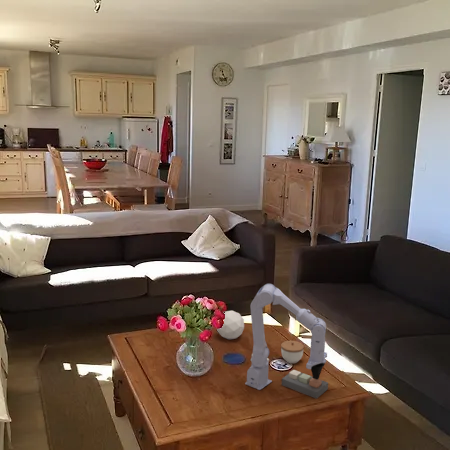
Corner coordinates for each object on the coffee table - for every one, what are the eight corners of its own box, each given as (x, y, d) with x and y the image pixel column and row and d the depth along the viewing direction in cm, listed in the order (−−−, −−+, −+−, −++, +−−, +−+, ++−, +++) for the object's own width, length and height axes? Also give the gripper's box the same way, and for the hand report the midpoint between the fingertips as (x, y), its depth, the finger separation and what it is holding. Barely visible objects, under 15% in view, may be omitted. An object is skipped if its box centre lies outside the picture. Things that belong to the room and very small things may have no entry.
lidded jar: (295, 368, 235) (296, 349, 233) (276, 361, 242) (276, 342, 240) (307, 359, 244) (308, 341, 242) (287, 353, 250) (288, 335, 248)
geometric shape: (231, 349, 264) (226, 335, 253) (213, 331, 273) (208, 316, 262) (251, 332, 268) (248, 317, 257) (233, 315, 277) (229, 300, 266)
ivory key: (296, 381, 219) (296, 375, 218) (288, 378, 221) (289, 372, 221) (300, 377, 222) (301, 372, 221) (293, 375, 224) (293, 369, 224)
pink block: (317, 389, 213) (317, 383, 212) (309, 386, 215) (309, 380, 215) (321, 385, 216) (321, 379, 215) (313, 382, 218) (313, 377, 217)
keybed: (316, 398, 210) (317, 392, 209) (281, 384, 220) (281, 378, 220) (327, 389, 218) (328, 382, 217) (293, 376, 228) (293, 370, 227)
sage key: (306, 385, 216) (306, 379, 215) (298, 382, 218) (299, 376, 218) (310, 381, 219) (311, 376, 218) (303, 378, 221) (303, 373, 220)
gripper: (317, 357, 204) (315, 388, 207) (334, 345, 215) (332, 374, 218) (302, 352, 208) (300, 382, 211) (319, 340, 219) (317, 369, 222)
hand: (315, 378), depth 215 cm, fingers closed
